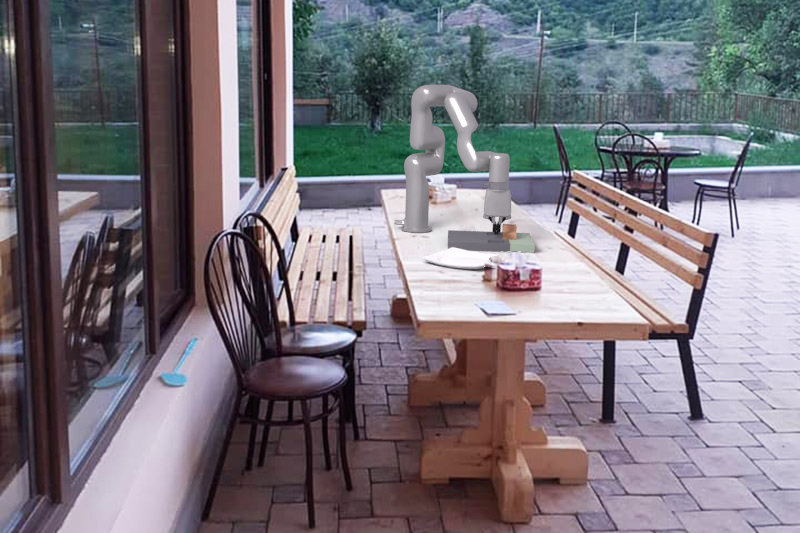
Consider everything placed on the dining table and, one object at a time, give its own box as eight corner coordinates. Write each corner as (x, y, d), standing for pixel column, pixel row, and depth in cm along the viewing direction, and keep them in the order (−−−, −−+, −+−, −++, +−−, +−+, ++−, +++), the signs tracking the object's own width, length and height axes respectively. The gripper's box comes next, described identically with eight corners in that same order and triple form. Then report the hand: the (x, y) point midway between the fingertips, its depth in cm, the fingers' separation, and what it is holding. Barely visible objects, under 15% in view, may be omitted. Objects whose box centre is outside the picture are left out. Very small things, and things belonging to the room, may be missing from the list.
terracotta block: (502, 239, 344) (503, 226, 343) (502, 236, 349) (502, 223, 348) (516, 239, 344) (516, 226, 343) (515, 237, 348) (515, 224, 347)
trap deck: (447, 249, 337) (448, 241, 336) (447, 237, 360) (448, 230, 359) (534, 252, 335) (534, 244, 335) (528, 240, 359) (529, 233, 358)
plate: (416, 264, 312) (416, 257, 312) (450, 253, 333) (451, 246, 332) (480, 274, 300) (480, 267, 299) (511, 262, 320) (512, 255, 319)
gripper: (478, 187, 339) (476, 235, 343) (519, 188, 338) (516, 236, 342) (478, 184, 347) (476, 231, 350) (517, 185, 346) (515, 232, 350)
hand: (496, 233), depth 346 cm, fingers closed
